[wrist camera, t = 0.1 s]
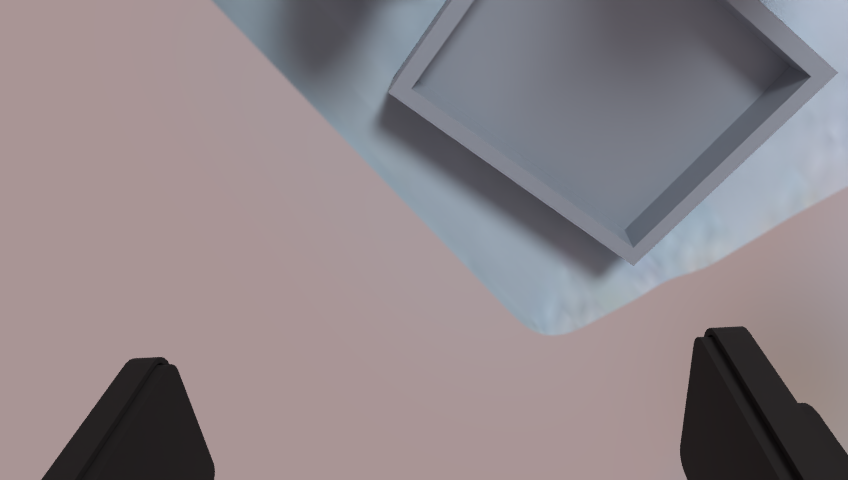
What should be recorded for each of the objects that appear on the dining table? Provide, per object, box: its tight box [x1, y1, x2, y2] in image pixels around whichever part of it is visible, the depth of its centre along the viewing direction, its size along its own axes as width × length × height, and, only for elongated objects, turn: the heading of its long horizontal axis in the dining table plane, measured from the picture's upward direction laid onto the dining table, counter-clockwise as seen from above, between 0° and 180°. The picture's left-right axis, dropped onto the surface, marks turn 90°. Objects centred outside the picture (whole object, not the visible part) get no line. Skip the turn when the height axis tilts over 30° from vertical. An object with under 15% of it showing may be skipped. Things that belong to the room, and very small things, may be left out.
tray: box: [388, 0, 838, 266], centre depth 37 cm, size 16×20×4 cm
